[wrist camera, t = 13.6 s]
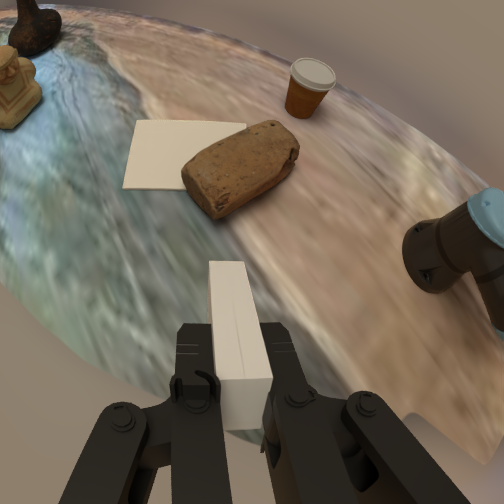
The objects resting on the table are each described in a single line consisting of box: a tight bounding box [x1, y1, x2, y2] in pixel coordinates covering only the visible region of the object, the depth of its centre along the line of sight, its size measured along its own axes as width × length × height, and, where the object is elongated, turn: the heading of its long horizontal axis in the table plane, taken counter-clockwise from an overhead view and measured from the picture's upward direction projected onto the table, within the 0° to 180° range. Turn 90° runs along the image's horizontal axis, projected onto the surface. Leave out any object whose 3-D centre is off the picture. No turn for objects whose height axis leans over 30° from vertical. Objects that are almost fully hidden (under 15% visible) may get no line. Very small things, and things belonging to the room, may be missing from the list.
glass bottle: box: [8, 0, 62, 56], centre depth 47 cm, size 18×18×28 cm
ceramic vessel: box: [0, 45, 42, 129], centre depth 41 cm, size 17×20×25 cm
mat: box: [123, 120, 246, 191], centre depth 55 cm, size 22×16×1 cm
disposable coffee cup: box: [285, 58, 336, 119], centre depth 58 cm, size 10×10×12 cm
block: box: [181, 120, 300, 220], centre depth 51 cm, size 11×8×20 cm
